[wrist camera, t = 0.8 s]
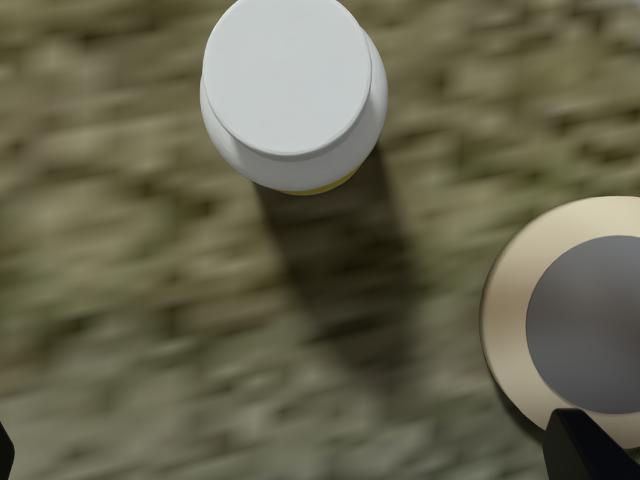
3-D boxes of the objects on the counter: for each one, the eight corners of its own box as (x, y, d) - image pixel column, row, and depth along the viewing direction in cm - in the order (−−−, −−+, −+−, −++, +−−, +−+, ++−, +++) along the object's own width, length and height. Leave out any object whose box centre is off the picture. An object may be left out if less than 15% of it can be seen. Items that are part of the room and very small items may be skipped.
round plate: (721, 435, 23) (746, 450, 22) (479, 438, 23) (488, 453, 22) (727, 193, 22) (753, 192, 21) (478, 199, 23) (488, 198, 21)
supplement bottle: (388, 171, 23) (432, 148, 13) (262, 213, 23) (211, 220, 13) (347, 43, 22) (360, -81, 13) (220, 85, 23) (136, -4, 13)
